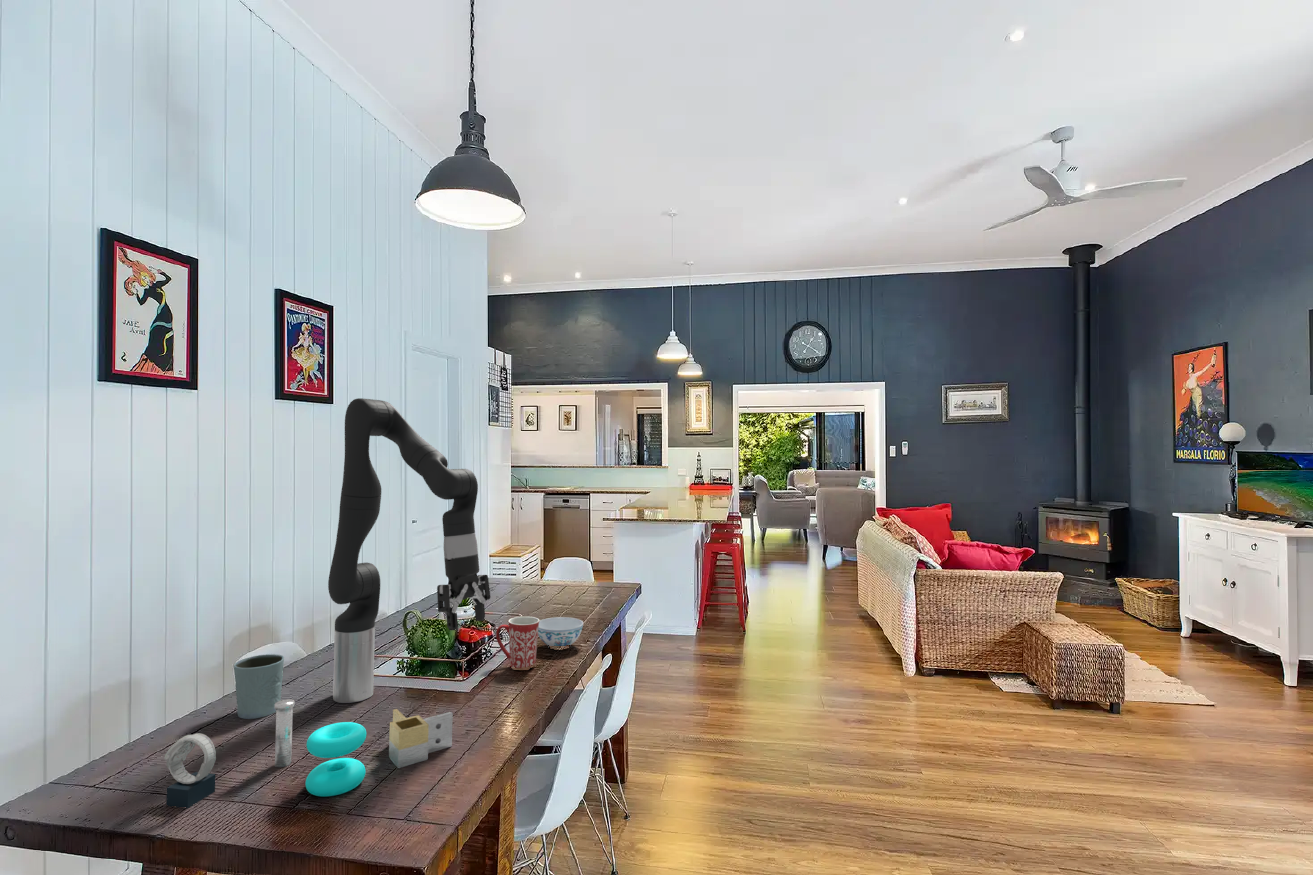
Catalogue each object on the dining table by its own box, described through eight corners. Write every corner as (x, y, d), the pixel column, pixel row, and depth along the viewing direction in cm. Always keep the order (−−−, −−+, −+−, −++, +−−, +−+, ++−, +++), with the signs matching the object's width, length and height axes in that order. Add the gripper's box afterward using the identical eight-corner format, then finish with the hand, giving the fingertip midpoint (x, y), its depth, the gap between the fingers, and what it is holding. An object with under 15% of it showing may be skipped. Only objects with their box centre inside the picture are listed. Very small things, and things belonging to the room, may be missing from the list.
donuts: (367, 716, 124) (366, 737, 114) (366, 767, 123) (364, 793, 114) (309, 724, 120) (303, 747, 110) (308, 777, 119) (302, 804, 110)
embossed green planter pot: (288, 711, 149) (290, 660, 149) (238, 724, 142) (240, 671, 142) (275, 699, 156) (276, 651, 156) (227, 711, 149) (228, 660, 149)
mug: (543, 662, 186) (543, 617, 186) (532, 673, 177) (533, 625, 177) (502, 660, 188) (503, 614, 188) (490, 670, 179) (490, 622, 179)
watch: (185, 787, 115) (187, 727, 115) (223, 792, 114) (225, 731, 114) (156, 804, 109) (158, 741, 110) (195, 809, 108) (197, 745, 108)
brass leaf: (379, 746, 132) (380, 712, 132) (407, 738, 136) (408, 705, 136) (398, 768, 123) (399, 732, 123) (427, 759, 127) (428, 724, 127)
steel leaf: (388, 757, 128) (389, 722, 128) (445, 740, 135) (446, 707, 135) (398, 768, 123) (399, 732, 123) (456, 750, 131) (457, 716, 131)
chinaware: (579, 655, 193) (579, 630, 193) (530, 654, 193) (531, 629, 193) (585, 640, 208) (586, 617, 208) (540, 640, 208) (540, 616, 208)
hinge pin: (271, 763, 125) (273, 702, 125) (291, 757, 127) (292, 698, 127) (274, 769, 122) (276, 707, 122) (294, 764, 124) (296, 703, 124)
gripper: (471, 551, 154) (476, 618, 153) (425, 559, 141) (431, 633, 140) (494, 549, 150) (500, 617, 149) (450, 558, 138) (456, 633, 136)
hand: (467, 625), depth 145 cm, fingers open, 8 cm apart
